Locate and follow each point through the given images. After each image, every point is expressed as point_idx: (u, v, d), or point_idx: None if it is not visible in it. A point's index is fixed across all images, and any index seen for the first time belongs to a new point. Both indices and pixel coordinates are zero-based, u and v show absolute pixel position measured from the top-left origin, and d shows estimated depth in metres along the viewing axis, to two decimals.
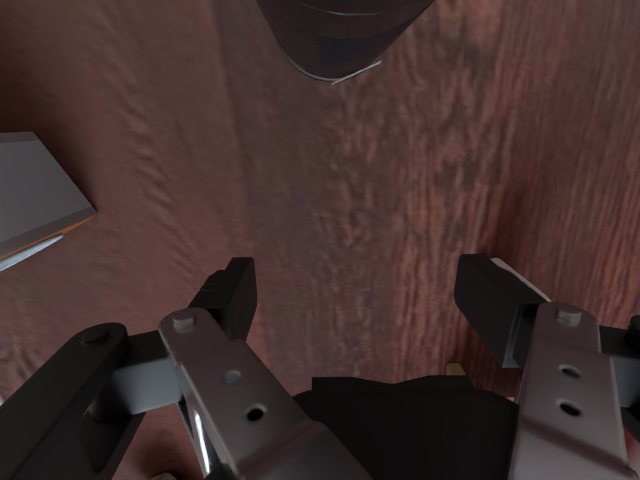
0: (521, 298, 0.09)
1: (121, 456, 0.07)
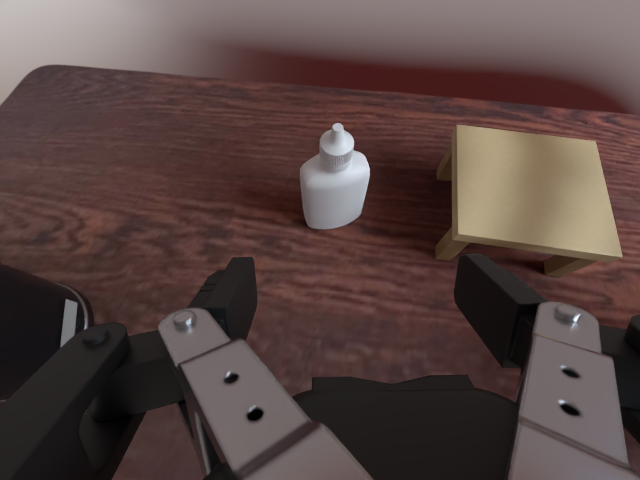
0: (521, 298, 0.09)
1: (121, 456, 0.07)
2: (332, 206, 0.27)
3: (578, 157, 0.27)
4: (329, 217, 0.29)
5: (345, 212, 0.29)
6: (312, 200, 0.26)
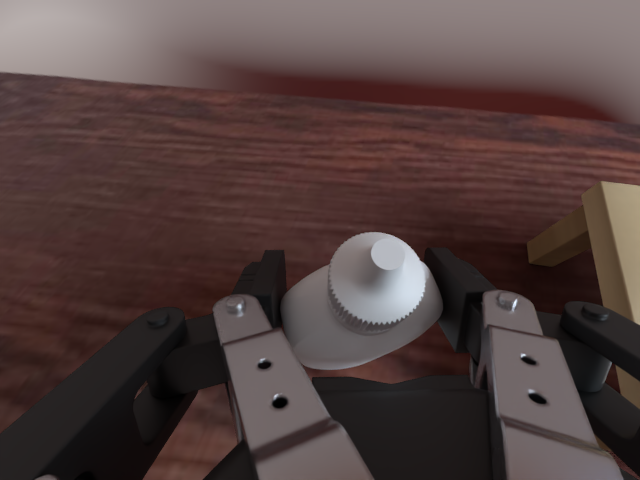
0: (470, 287, 0.09)
1: (170, 433, 0.08)
2: (353, 364, 0.13)
3: None
4: (343, 367, 0.14)
5: None
6: (309, 362, 0.12)
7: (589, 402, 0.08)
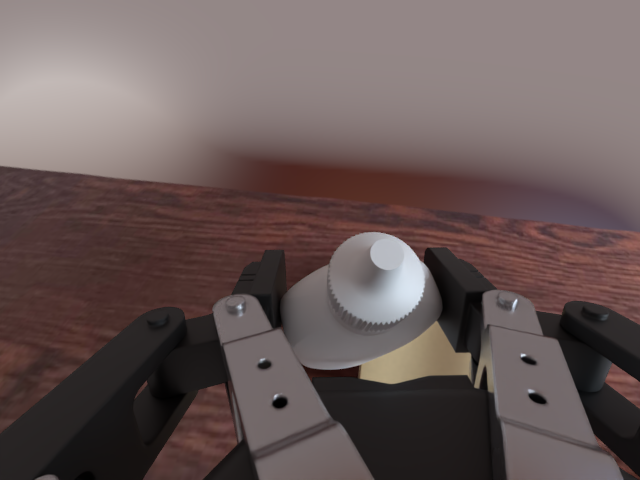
0: (470, 287, 0.09)
1: (170, 433, 0.08)
2: (353, 364, 0.13)
3: None
4: (343, 367, 0.14)
5: None
6: (309, 362, 0.12)
7: (589, 402, 0.08)
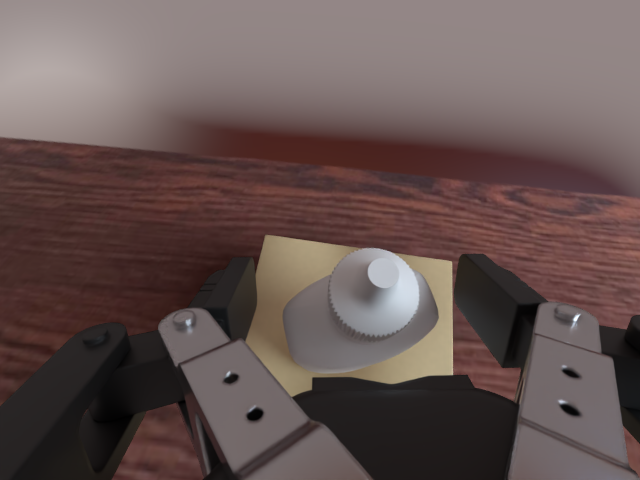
0: (521, 298, 0.09)
1: (121, 456, 0.07)
2: (353, 369, 0.13)
3: None
4: None
5: None
6: (310, 368, 0.12)
7: None
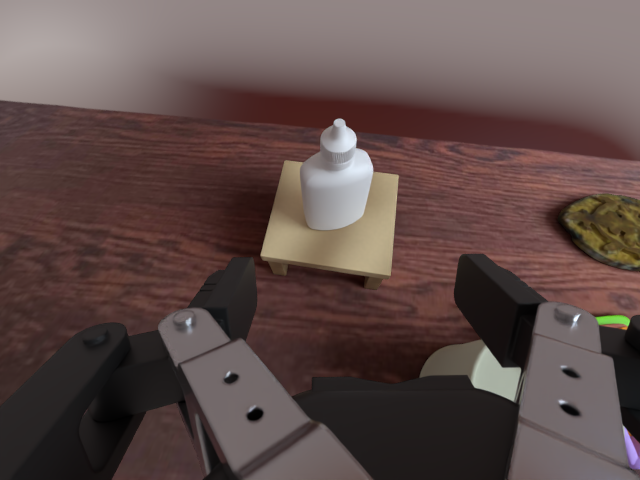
0: (521, 298, 0.09)
1: (121, 456, 0.07)
2: (334, 206, 0.26)
3: (379, 189, 0.32)
4: (330, 218, 0.28)
5: (347, 212, 0.27)
6: (313, 200, 0.25)
7: None
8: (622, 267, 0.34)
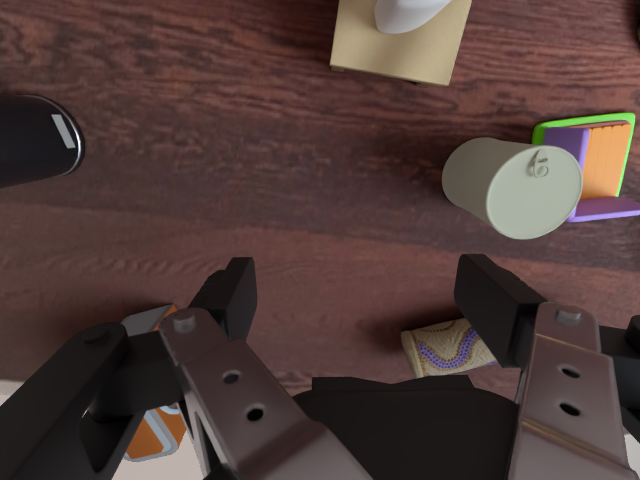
0: (521, 298, 0.09)
1: (121, 456, 0.07)
2: (415, 19, 0.26)
3: None
4: (405, 26, 0.27)
5: (424, 20, 0.27)
6: (396, 16, 0.25)
7: None
8: None
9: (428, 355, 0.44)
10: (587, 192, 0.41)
